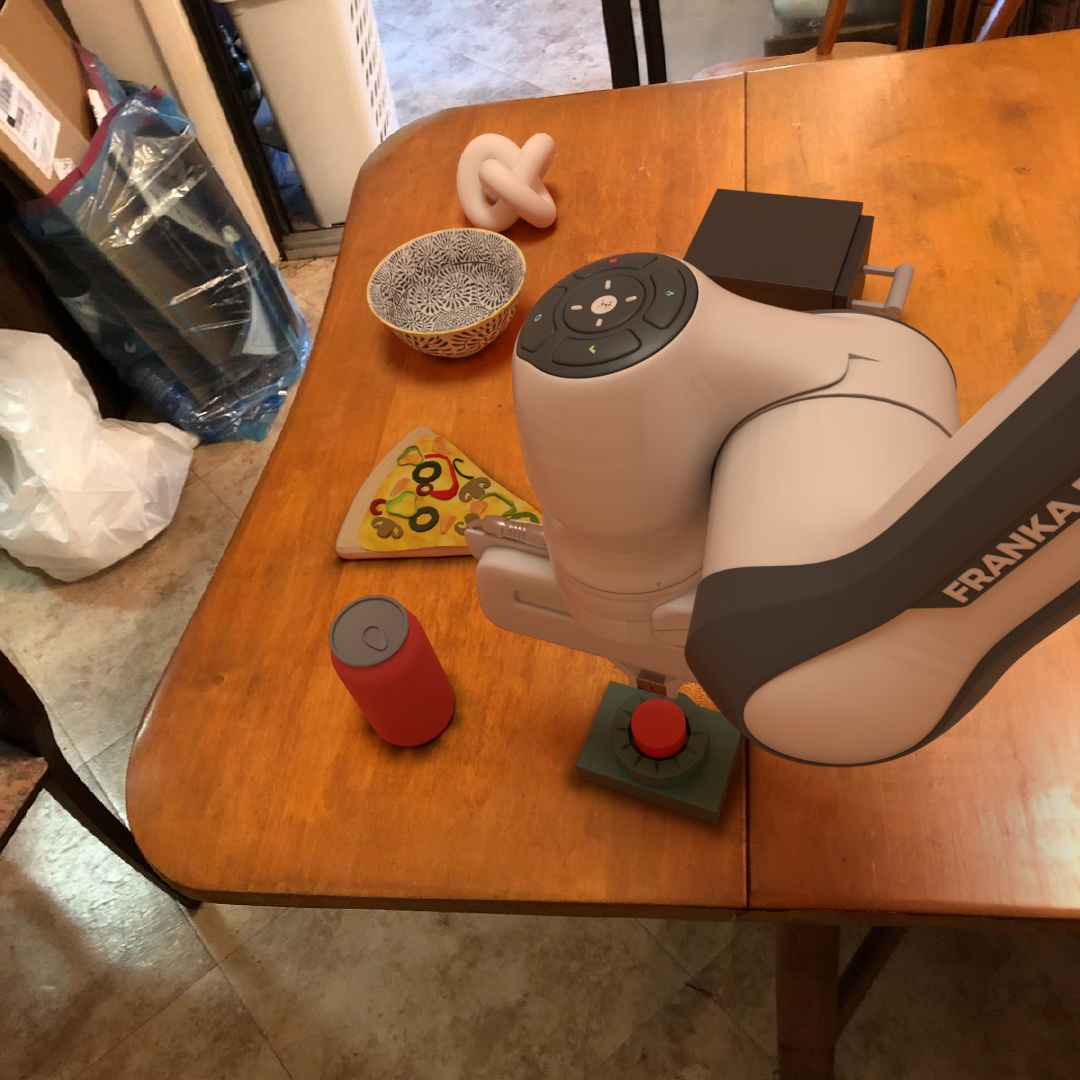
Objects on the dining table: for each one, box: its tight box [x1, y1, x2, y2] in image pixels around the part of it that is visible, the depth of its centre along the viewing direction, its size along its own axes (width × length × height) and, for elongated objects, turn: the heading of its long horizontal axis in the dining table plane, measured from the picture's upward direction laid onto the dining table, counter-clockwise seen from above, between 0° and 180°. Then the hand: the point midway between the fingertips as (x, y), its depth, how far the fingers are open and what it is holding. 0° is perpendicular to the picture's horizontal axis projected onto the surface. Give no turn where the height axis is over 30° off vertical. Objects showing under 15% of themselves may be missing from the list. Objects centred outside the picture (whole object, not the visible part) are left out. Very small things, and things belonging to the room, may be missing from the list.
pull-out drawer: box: [832, 214, 915, 320], centre depth 87 cm, size 17×11×8 cm
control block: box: [575, 680, 745, 825], centre depth 65 cm, size 10×7×4 cm
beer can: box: [327, 594, 456, 747], centre depth 67 cm, size 7×7×12 cm
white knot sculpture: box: [456, 132, 557, 233], centre depth 105 cm, size 11×12×9 cm
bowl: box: [366, 227, 527, 359], centre depth 94 cm, size 16×16×8 cm
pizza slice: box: [335, 425, 543, 560], centre depth 81 cm, size 16×21×3 cm
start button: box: [631, 699, 686, 758], centre depth 63 cm, size 4×4×2 cm
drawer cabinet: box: [682, 188, 864, 311], centre depth 88 cm, size 14×13×10 cm
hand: (657, 683), depth 58 cm, fingers closed
